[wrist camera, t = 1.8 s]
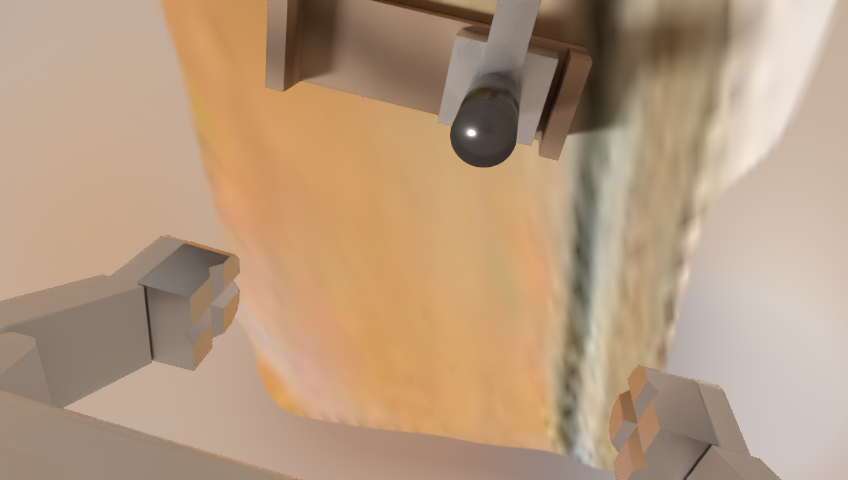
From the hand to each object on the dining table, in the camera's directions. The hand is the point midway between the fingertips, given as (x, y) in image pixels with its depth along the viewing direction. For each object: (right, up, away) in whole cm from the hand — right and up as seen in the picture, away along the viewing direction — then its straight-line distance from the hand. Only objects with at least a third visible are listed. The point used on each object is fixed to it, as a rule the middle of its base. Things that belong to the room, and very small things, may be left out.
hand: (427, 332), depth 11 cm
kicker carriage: (+5, +14, +15) cm, 21 cm away
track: (0, +12, +19) cm, 22 cm away
